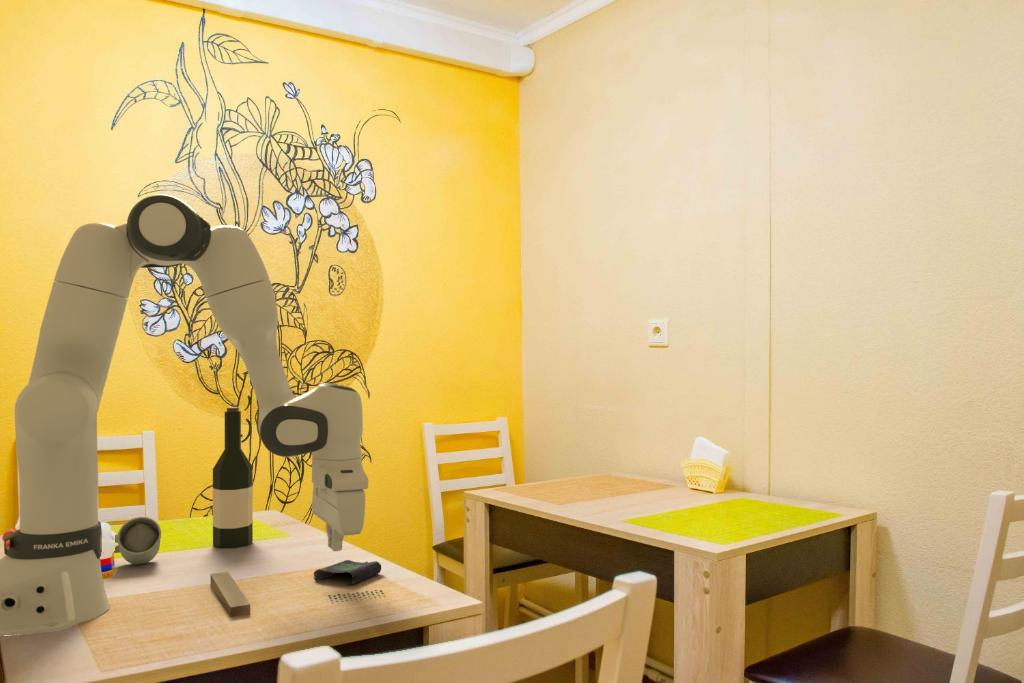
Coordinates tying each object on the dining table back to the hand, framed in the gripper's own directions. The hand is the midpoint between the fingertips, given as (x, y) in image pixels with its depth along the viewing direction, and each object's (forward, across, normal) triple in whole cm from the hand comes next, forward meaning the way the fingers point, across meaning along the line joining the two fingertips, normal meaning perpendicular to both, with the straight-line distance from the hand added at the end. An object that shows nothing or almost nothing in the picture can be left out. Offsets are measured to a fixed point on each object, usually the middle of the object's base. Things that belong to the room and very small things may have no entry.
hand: (335, 549), depth 144 cm
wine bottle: (+8, -42, -10) cm, 44 cm away
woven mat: (+8, +12, +1) cm, 15 cm away
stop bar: (+8, 0, -18) cm, 20 cm away
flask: (+8, 0, 0) cm, 8 cm away
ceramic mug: (+8, -33, -31) cm, 46 cm away
